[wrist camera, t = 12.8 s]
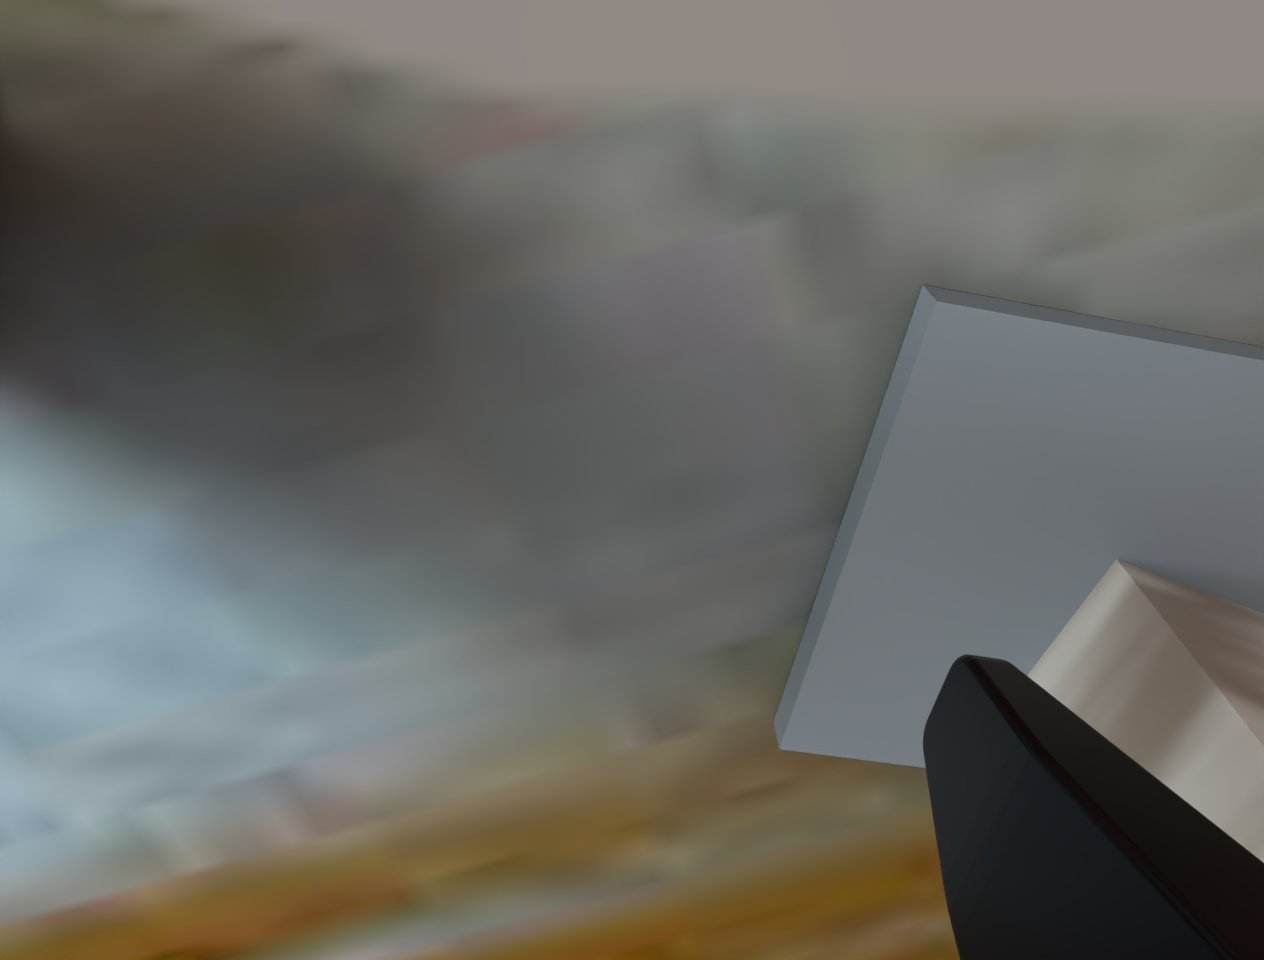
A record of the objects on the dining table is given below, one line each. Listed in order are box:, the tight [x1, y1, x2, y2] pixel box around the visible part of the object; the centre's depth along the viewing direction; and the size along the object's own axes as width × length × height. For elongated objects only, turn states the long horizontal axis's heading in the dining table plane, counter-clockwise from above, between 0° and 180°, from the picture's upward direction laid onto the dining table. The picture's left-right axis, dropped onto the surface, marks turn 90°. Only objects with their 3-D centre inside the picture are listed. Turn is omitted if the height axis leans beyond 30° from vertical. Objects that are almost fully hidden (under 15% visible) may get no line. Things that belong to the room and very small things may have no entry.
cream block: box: [1027, 559, 1264, 862], centre depth 20 cm, size 5×5×10 cm
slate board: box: [773, 285, 1264, 768], centre depth 24 cm, size 14×12×1 cm
